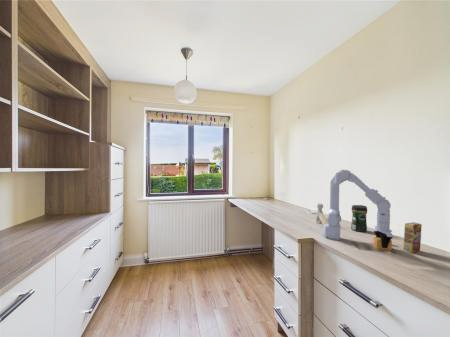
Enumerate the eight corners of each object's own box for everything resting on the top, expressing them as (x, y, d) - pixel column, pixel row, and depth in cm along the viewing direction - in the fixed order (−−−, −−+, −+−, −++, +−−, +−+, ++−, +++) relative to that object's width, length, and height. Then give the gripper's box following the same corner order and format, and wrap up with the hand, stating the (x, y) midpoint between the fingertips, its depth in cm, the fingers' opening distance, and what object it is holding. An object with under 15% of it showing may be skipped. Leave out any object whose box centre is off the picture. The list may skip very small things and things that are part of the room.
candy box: (412, 253, 113) (413, 225, 113) (402, 250, 117) (403, 223, 117) (421, 251, 117) (422, 223, 117) (411, 248, 121) (412, 221, 121)
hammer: (333, 219, 144) (322, 203, 173) (326, 219, 145) (316, 202, 174) (331, 240, 147) (320, 220, 176) (324, 240, 148) (314, 220, 177)
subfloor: (360, 253, 111) (360, 251, 111) (348, 241, 129) (348, 239, 129) (405, 258, 106) (405, 256, 106) (386, 245, 124) (386, 243, 124)
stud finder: (376, 248, 116) (377, 239, 116) (373, 245, 119) (373, 236, 119) (391, 250, 114) (391, 240, 114) (387, 247, 118) (388, 238, 118)
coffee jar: (361, 229, 159) (362, 204, 159) (368, 232, 151) (369, 206, 151) (348, 228, 159) (349, 204, 159) (355, 231, 151) (356, 205, 151)
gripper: (399, 225, 109) (398, 251, 109) (385, 219, 123) (384, 242, 123) (383, 224, 110) (382, 250, 110) (371, 218, 124) (370, 241, 124)
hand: (382, 246), depth 117 cm, fingers open, 4 cm apart
